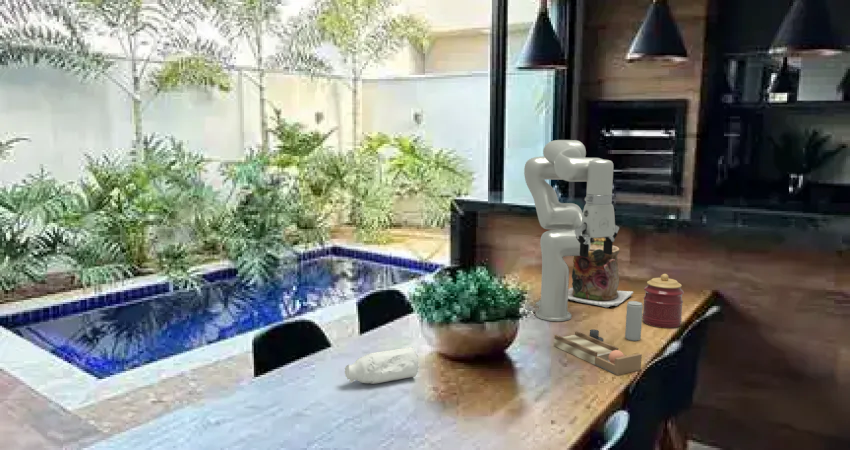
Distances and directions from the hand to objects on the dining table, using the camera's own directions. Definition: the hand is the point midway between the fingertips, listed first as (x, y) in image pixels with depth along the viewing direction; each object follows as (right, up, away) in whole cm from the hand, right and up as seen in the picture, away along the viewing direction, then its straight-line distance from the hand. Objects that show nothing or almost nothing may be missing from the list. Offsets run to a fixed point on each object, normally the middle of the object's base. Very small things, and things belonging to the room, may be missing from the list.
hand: (595, 255), depth 200 cm
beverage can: (+14, -28, +9) cm, 32 cm away
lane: (-5, -29, -5) cm, 30 cm away
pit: (+2, -31, -16) cm, 35 cm away
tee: (+1, -28, +7) cm, 29 cm away
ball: (+2, -31, -16) cm, 35 cm away
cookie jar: (+15, -20, +59) cm, 64 cm away
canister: (+30, -25, +27) cm, 47 cm away
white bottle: (-64, -32, -29) cm, 77 cm away
